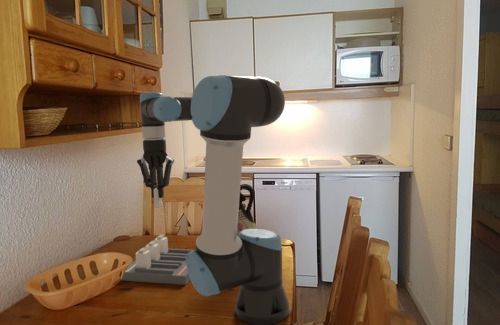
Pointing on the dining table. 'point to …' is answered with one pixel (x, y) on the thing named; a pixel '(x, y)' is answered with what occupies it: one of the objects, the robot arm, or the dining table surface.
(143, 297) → the dining table surface
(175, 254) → the tray
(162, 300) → the dining table surface
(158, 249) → the handle
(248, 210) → the ceramic jug
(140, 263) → the block
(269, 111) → the robot arm
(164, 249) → the far breaker handle
